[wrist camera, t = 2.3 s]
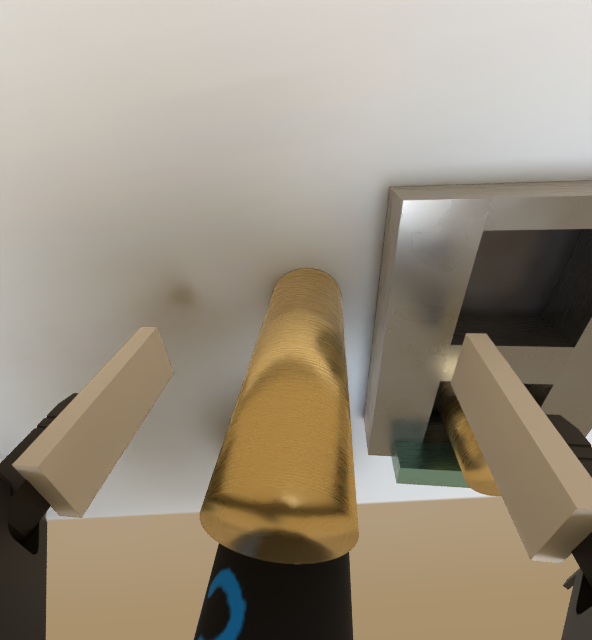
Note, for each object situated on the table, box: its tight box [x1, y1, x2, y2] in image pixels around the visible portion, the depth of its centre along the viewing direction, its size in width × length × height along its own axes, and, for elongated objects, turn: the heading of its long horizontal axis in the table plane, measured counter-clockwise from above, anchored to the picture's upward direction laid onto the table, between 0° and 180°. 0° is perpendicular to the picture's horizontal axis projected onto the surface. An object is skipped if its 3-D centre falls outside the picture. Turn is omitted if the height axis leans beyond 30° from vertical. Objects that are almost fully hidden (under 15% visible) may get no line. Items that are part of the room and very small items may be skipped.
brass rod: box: [200, 268, 359, 564], centre depth 13 cm, size 4×4×12 cm
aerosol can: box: [194, 543, 353, 640], centre depth 16 cm, size 8×8×20 cm
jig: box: [364, 181, 592, 496], centre depth 15 cm, size 12×16×6 cm
